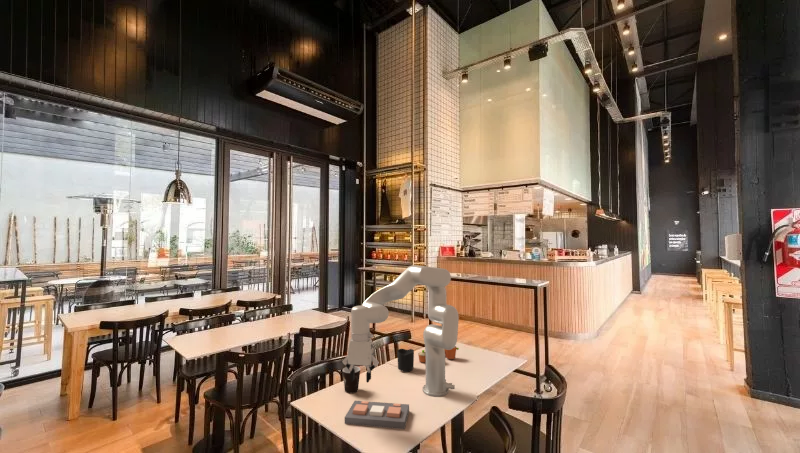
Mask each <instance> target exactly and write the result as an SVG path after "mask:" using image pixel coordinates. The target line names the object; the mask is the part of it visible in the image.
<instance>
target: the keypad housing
mask: <svg viewBox="0 0 800 453" xmlns="http://www.w3.org/2000/svg"><path fill="white" fill-rule="evenodd" d="M356 404H361V405H368V411H367V413H366V415H355V414H353V409H354V407H355V406H356ZM373 405H375V406H384V414H383V416H382V417H381V416H370V410H371V408H372V406H373ZM389 407H401V415H400V418H393V417H387V411H388V408H389ZM409 414H410V404H408V403H407V404H406V403H396V402H380V401H378V402H377V401H367V400H354V401H353V403H352V404H351V406H350V407H349V409H348V411H347V412H346V414H345V416H344V424H345V425H356V426H364V427H365V426H367V427H378V428H387V429H397V430H405V428H406V425H407V421H408V417H409Z"/></svg>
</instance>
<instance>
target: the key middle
mask: <svg viewBox="0 0 800 453" xmlns="http://www.w3.org/2000/svg"><path fill="white" fill-rule="evenodd" d="M383 414H384V406H375V405H373V406H372V408H371V410H370V416H381V417H382V416H383Z"/></svg>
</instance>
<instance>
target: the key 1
mask: <svg viewBox="0 0 800 453" xmlns="http://www.w3.org/2000/svg"><path fill="white" fill-rule="evenodd" d="M367 411H368V405H361V404H356V406H355V407H354V409H353V414H355V415H366V413H367Z"/></svg>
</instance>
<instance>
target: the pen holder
mask: <svg viewBox="0 0 800 453" xmlns="http://www.w3.org/2000/svg"><path fill="white" fill-rule="evenodd" d="M396 352H397V354H396V356H397V368H398V370H399V371H401V372H406V373H407V372H410V371H413V370H414V361H415V359H414V358H415V350H414V349H412V348H410V349H405V348H399V349H397V351H396Z"/></svg>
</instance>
